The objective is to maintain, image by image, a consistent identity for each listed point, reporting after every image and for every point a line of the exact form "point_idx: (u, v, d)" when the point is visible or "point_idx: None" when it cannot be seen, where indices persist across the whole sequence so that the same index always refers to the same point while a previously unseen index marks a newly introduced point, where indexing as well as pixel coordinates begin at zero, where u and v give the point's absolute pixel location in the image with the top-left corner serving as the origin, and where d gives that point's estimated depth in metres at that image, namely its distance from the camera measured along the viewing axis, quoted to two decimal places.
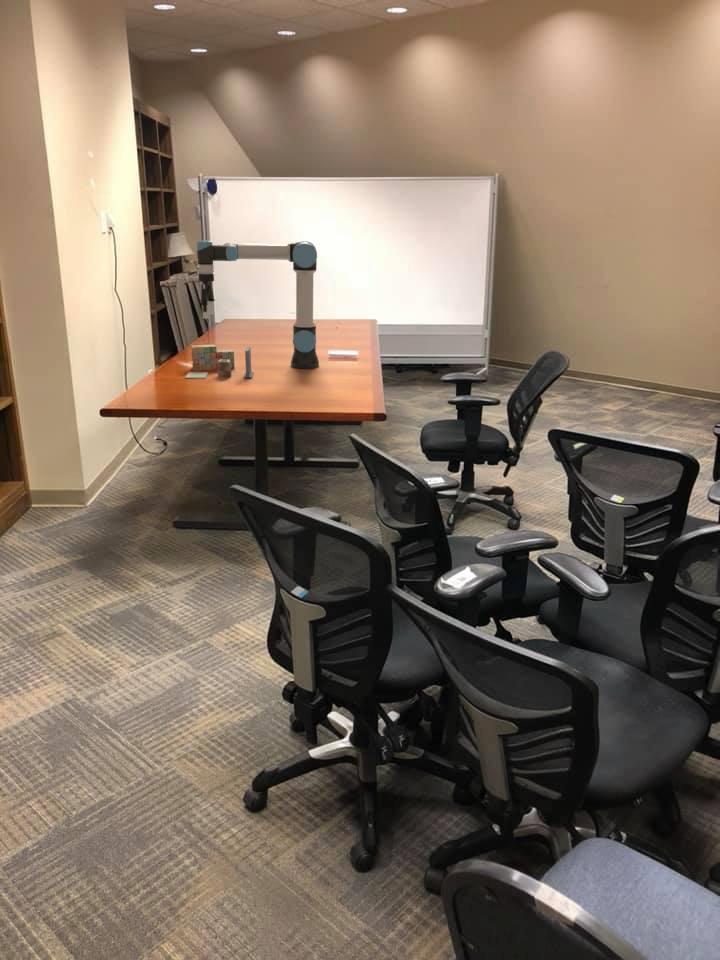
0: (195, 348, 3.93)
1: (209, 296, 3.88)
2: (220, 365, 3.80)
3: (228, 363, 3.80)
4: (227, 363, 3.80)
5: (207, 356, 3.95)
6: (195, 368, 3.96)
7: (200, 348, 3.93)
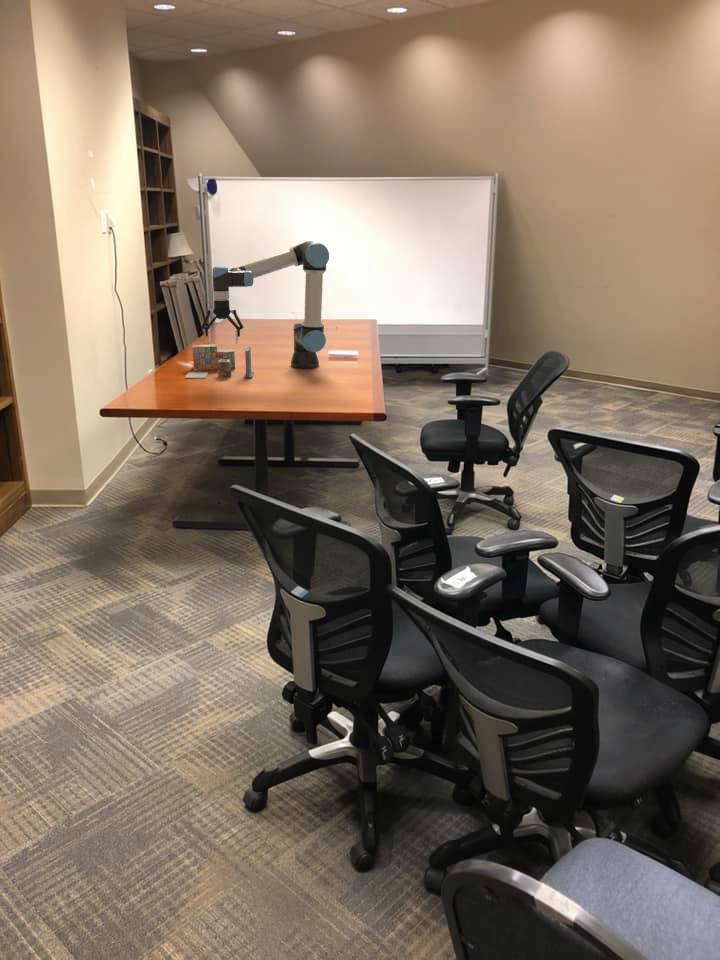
0: (195, 348, 3.94)
1: None
2: (220, 365, 3.80)
3: (228, 363, 3.80)
4: (227, 363, 3.80)
5: (207, 356, 3.96)
6: (195, 368, 3.97)
7: (200, 348, 3.94)
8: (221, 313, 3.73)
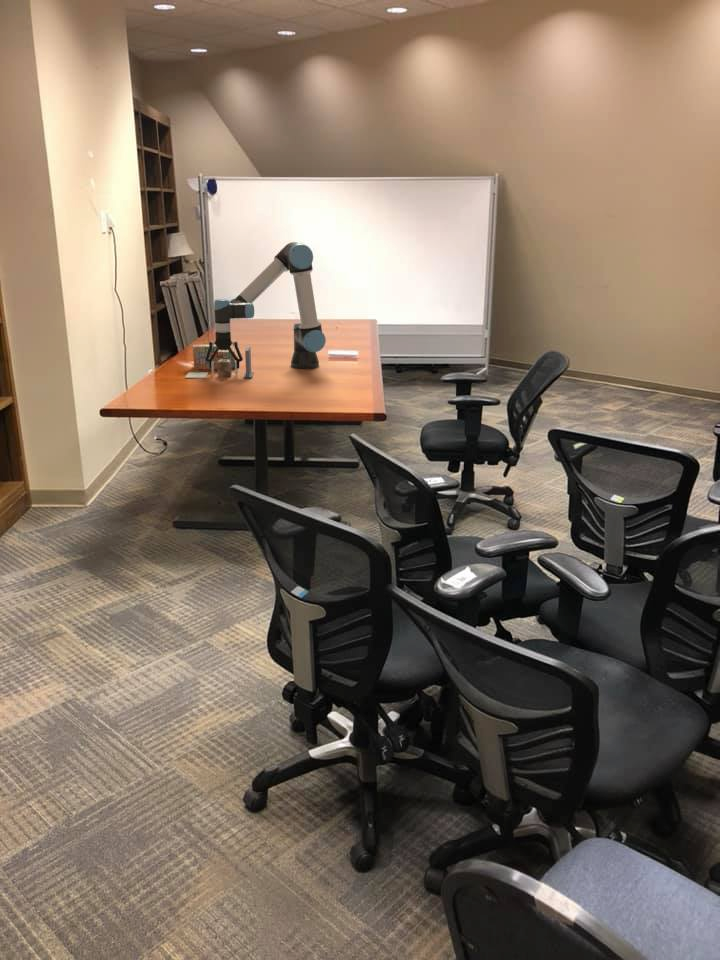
0: (196, 347, 3.94)
1: None
2: (220, 365, 3.80)
3: (228, 363, 3.80)
4: (227, 363, 3.80)
5: None
6: (196, 367, 3.98)
7: (201, 348, 3.95)
8: (222, 344, 3.78)
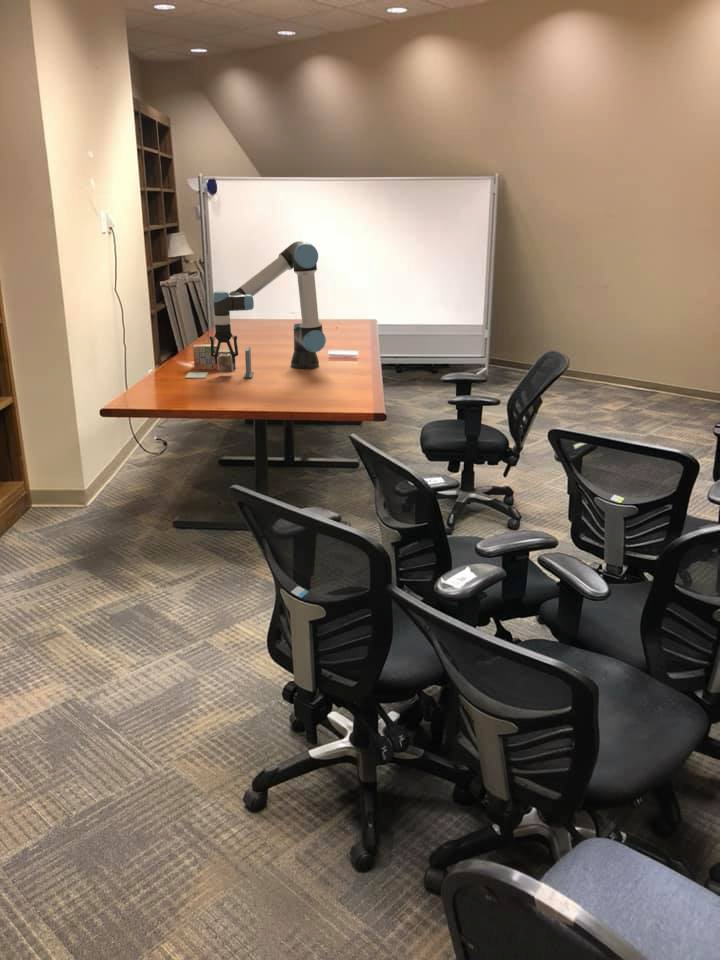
0: (196, 347, 3.94)
1: None
2: (220, 359, 3.79)
3: (229, 357, 3.79)
4: (228, 357, 3.79)
5: (207, 356, 3.97)
6: (196, 367, 3.98)
7: (201, 347, 3.95)
8: (222, 336, 3.77)
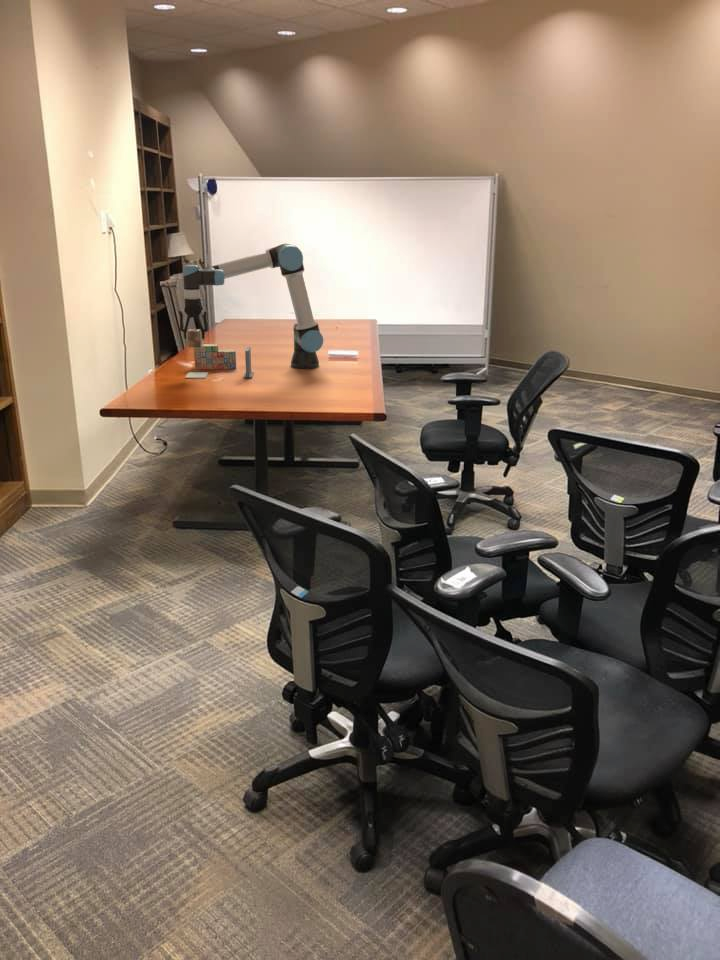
0: (196, 347, 3.95)
1: None
2: (189, 334, 3.74)
3: (198, 332, 3.74)
4: (197, 332, 3.74)
5: (208, 355, 3.97)
6: (196, 367, 3.99)
7: (201, 347, 3.96)
8: (192, 311, 3.72)
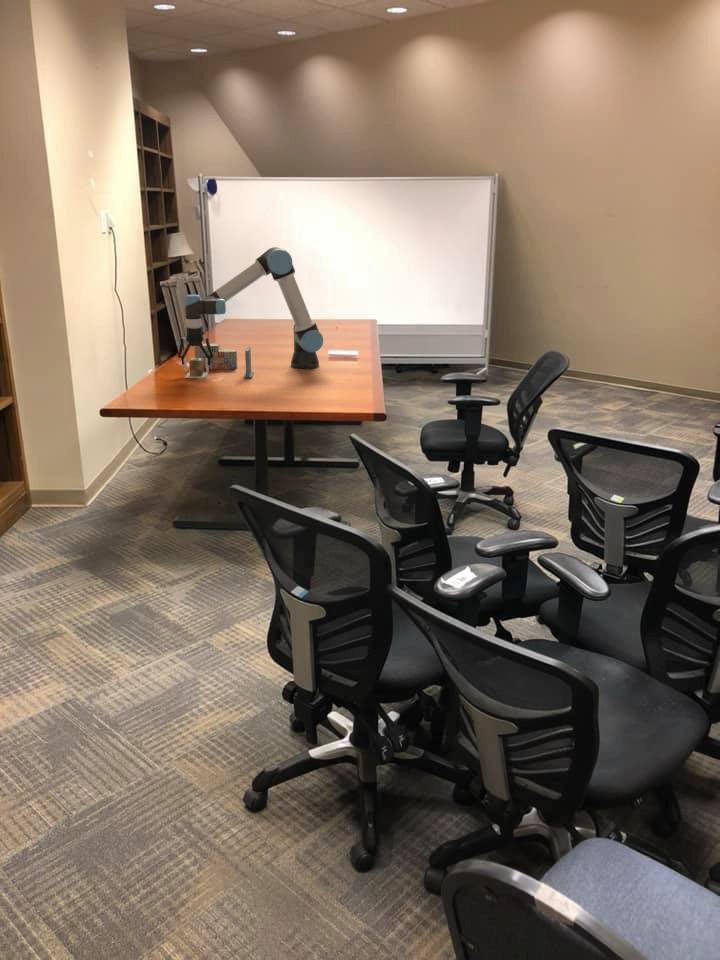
0: (197, 347, 3.96)
1: None
2: (191, 363, 3.79)
3: (200, 361, 3.79)
4: (199, 361, 3.79)
5: None
6: None
7: None
8: (194, 340, 3.77)
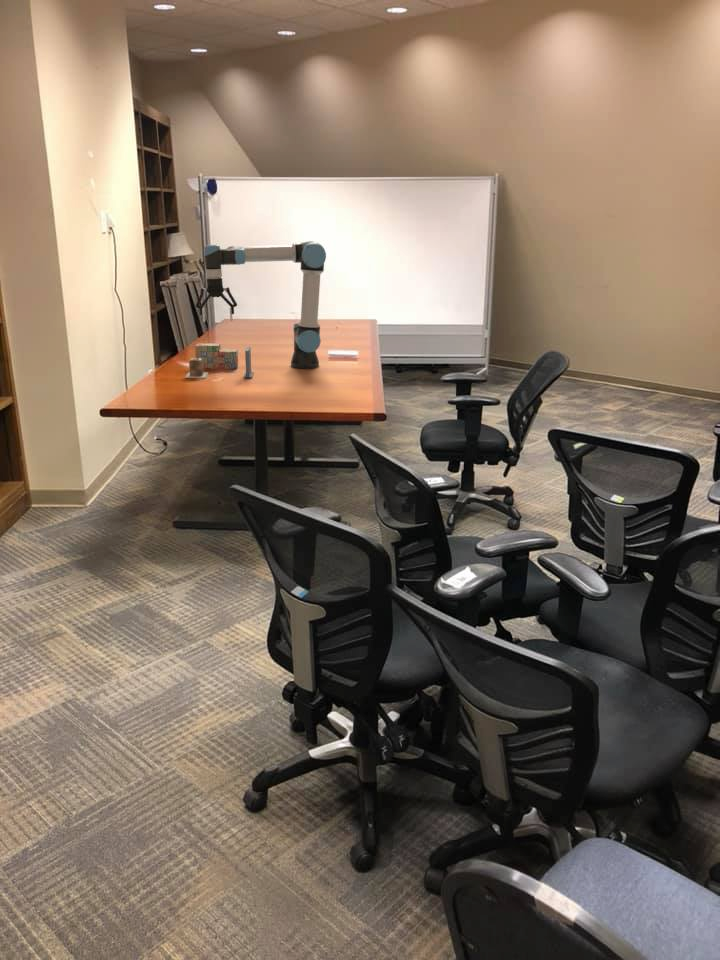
0: (198, 346, 3.97)
1: None
2: (191, 363, 3.79)
3: (200, 361, 3.79)
4: (199, 361, 3.79)
5: (209, 355, 3.99)
6: None
7: (203, 347, 3.97)
8: (214, 291, 3.76)
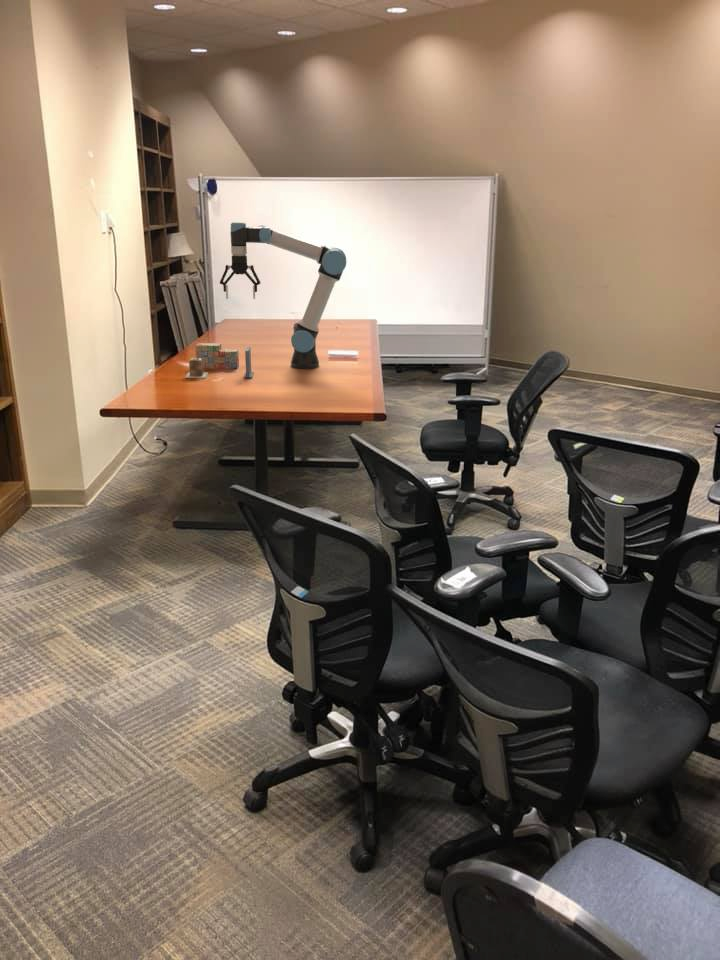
0: (198, 346, 3.98)
1: (250, 279, 3.83)
2: (191, 363, 3.79)
3: (200, 361, 3.79)
4: (199, 361, 3.79)
5: (210, 355, 3.99)
6: None
7: (203, 346, 3.98)
8: (239, 268, 3.80)
